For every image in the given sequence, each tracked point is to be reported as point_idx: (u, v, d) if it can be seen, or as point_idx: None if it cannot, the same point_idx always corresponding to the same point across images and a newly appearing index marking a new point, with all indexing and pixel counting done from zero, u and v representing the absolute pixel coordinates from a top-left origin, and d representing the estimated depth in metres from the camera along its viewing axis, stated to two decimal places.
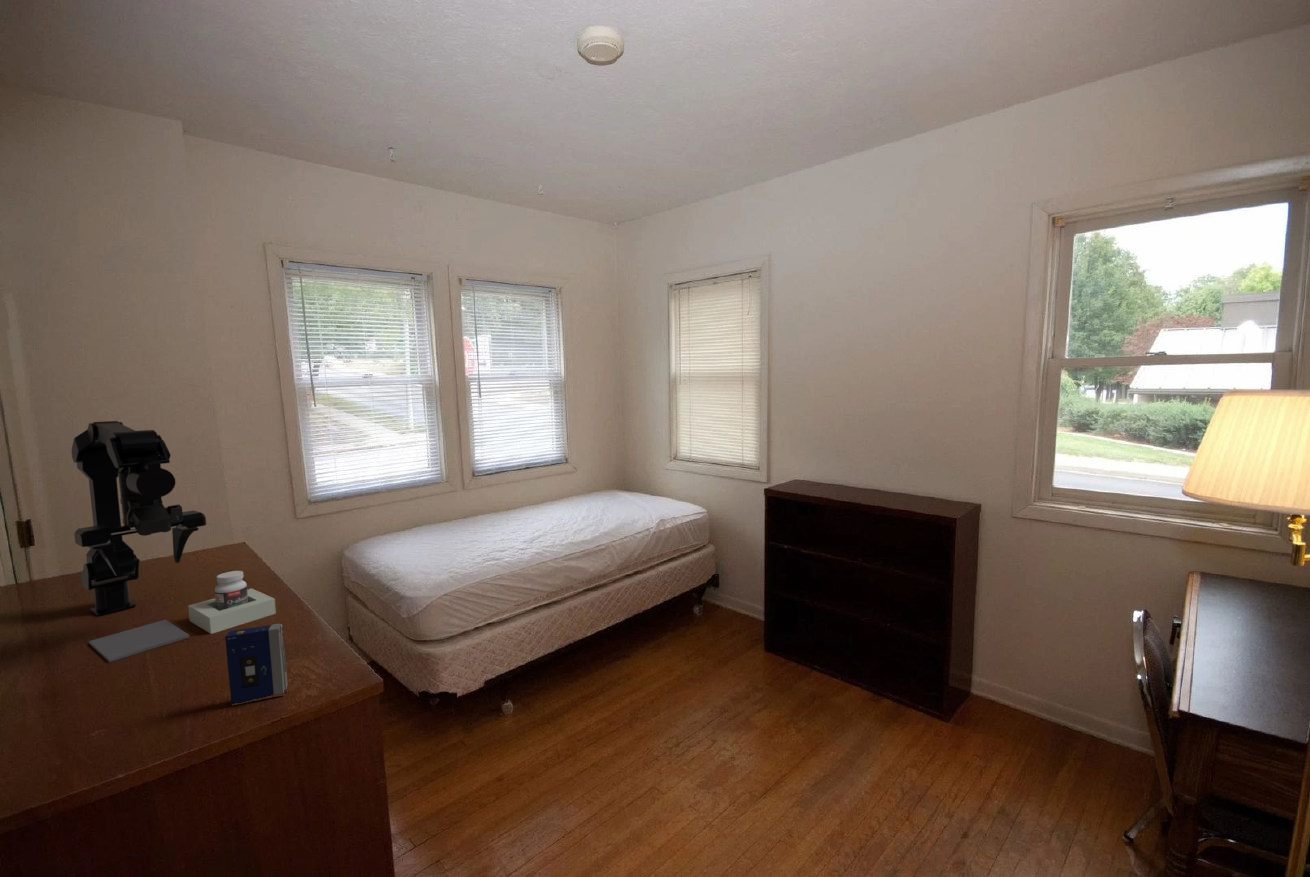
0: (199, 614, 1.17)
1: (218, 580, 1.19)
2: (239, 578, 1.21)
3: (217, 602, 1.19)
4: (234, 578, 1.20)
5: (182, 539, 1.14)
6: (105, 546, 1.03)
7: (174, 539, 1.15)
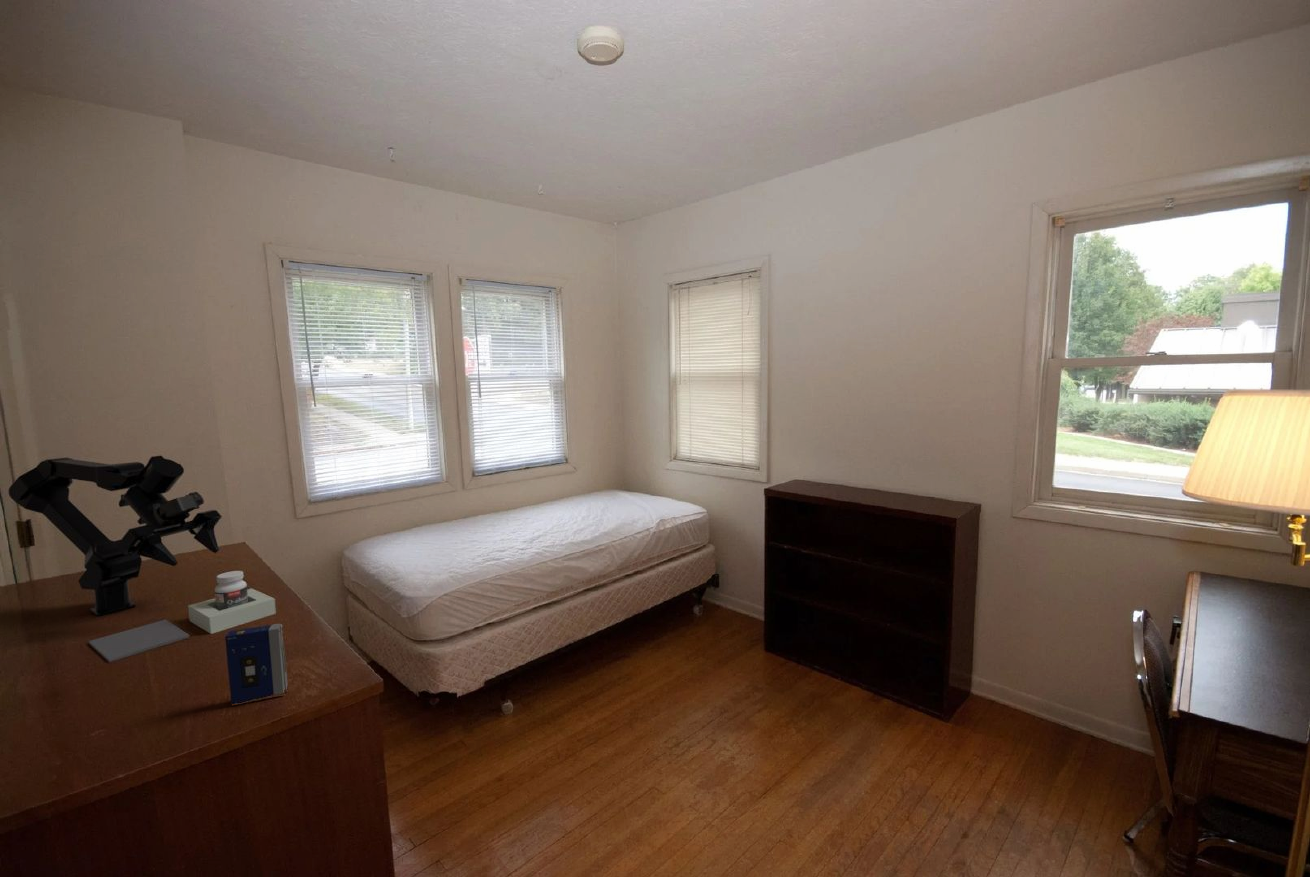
0: (199, 614, 1.17)
1: (218, 580, 1.19)
2: (239, 578, 1.21)
3: (217, 602, 1.19)
4: (234, 578, 1.20)
5: (210, 531, 1.27)
6: (153, 535, 1.16)
7: (202, 539, 1.27)
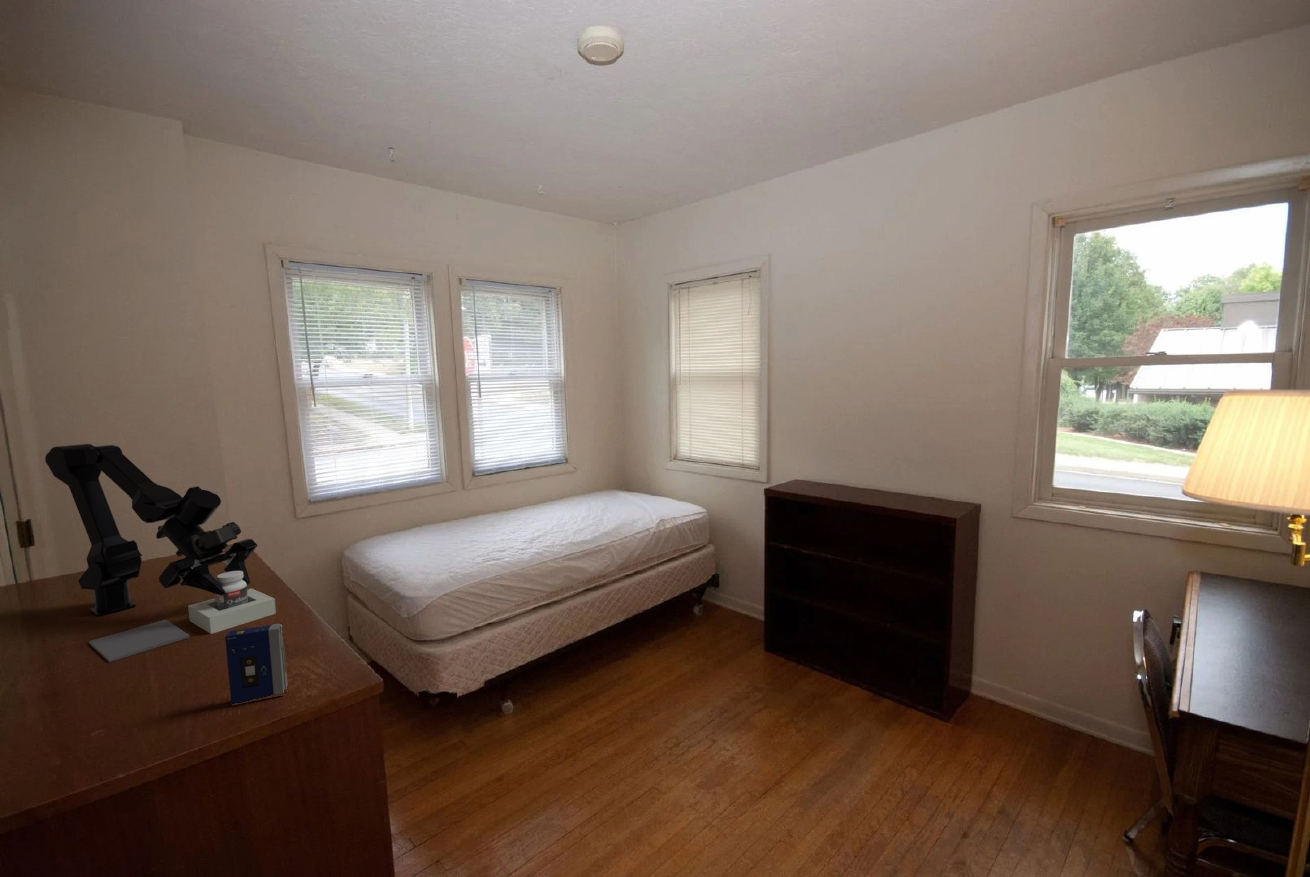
0: (199, 614, 1.17)
1: (218, 580, 1.19)
2: (239, 578, 1.21)
3: (217, 602, 1.19)
4: (234, 578, 1.20)
5: (240, 562, 1.25)
6: (201, 565, 1.16)
7: None
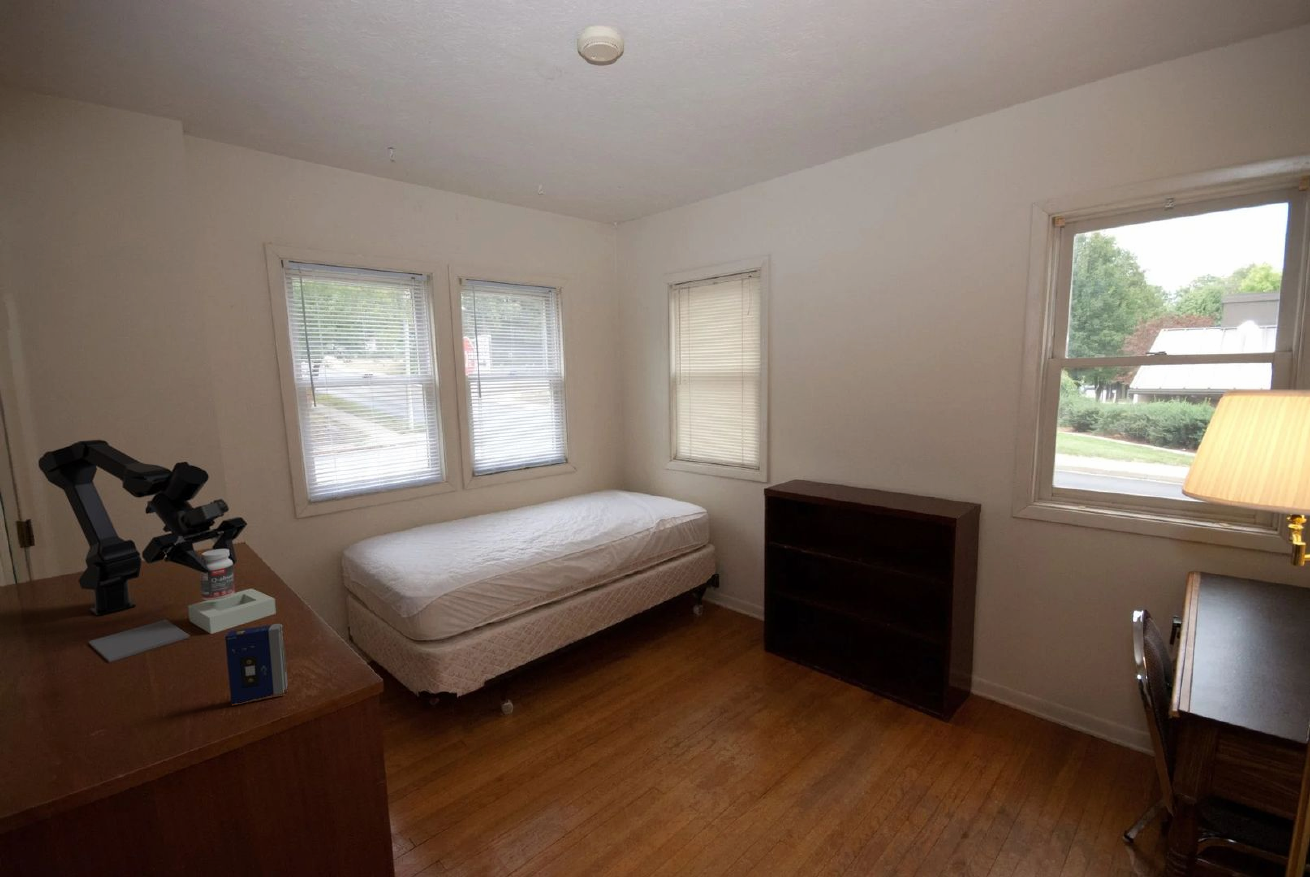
0: (199, 614, 1.17)
1: (203, 557, 1.17)
2: (224, 556, 1.19)
3: (201, 580, 1.17)
4: (219, 556, 1.18)
5: (228, 541, 1.23)
6: (185, 542, 1.14)
7: None
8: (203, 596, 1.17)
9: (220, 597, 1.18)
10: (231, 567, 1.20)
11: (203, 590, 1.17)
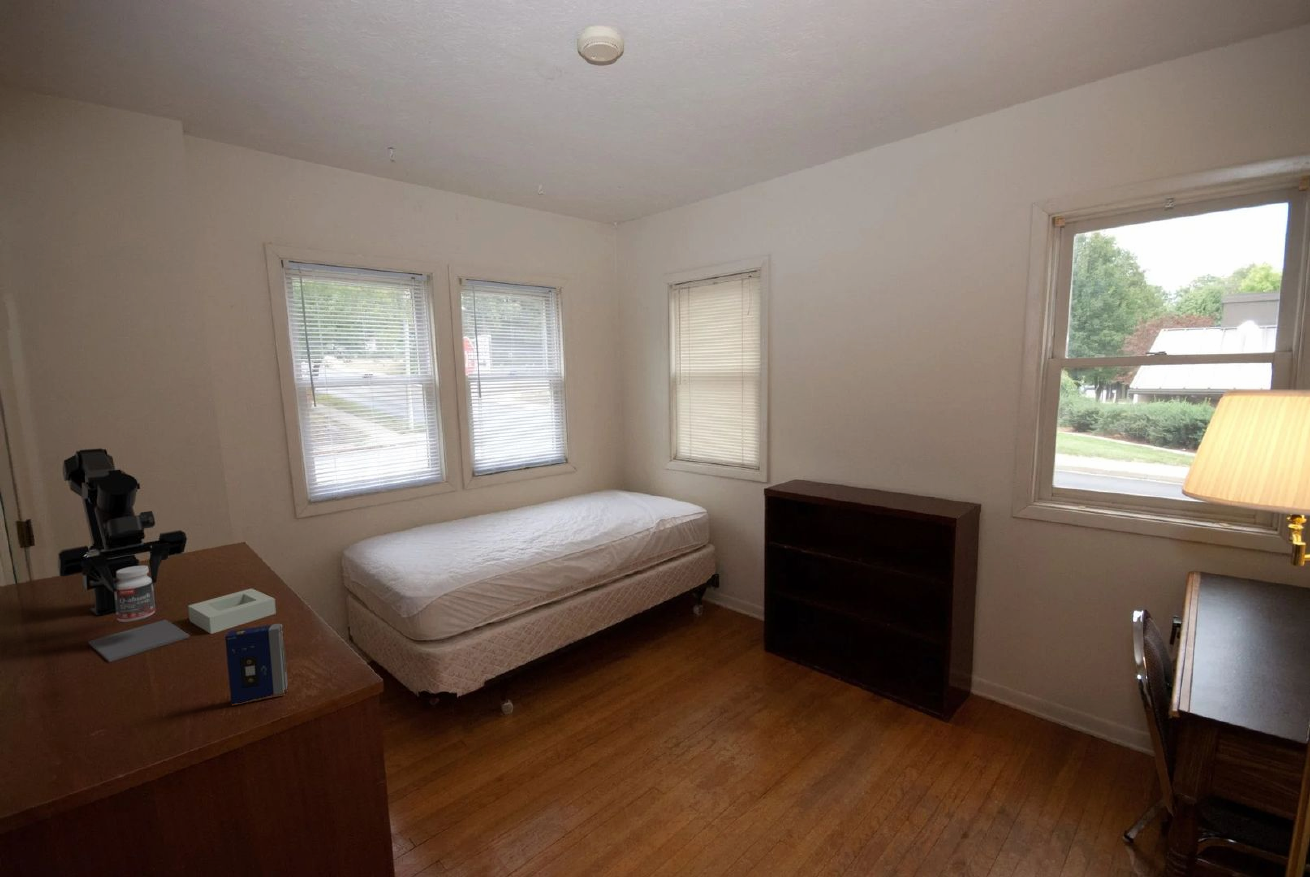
0: (199, 614, 1.17)
1: None
2: (135, 575, 1.09)
3: (115, 598, 1.09)
4: (128, 574, 1.08)
5: (155, 557, 1.14)
6: (95, 557, 1.07)
7: (150, 565, 1.14)
8: None
9: (129, 619, 1.08)
10: (145, 587, 1.10)
11: None
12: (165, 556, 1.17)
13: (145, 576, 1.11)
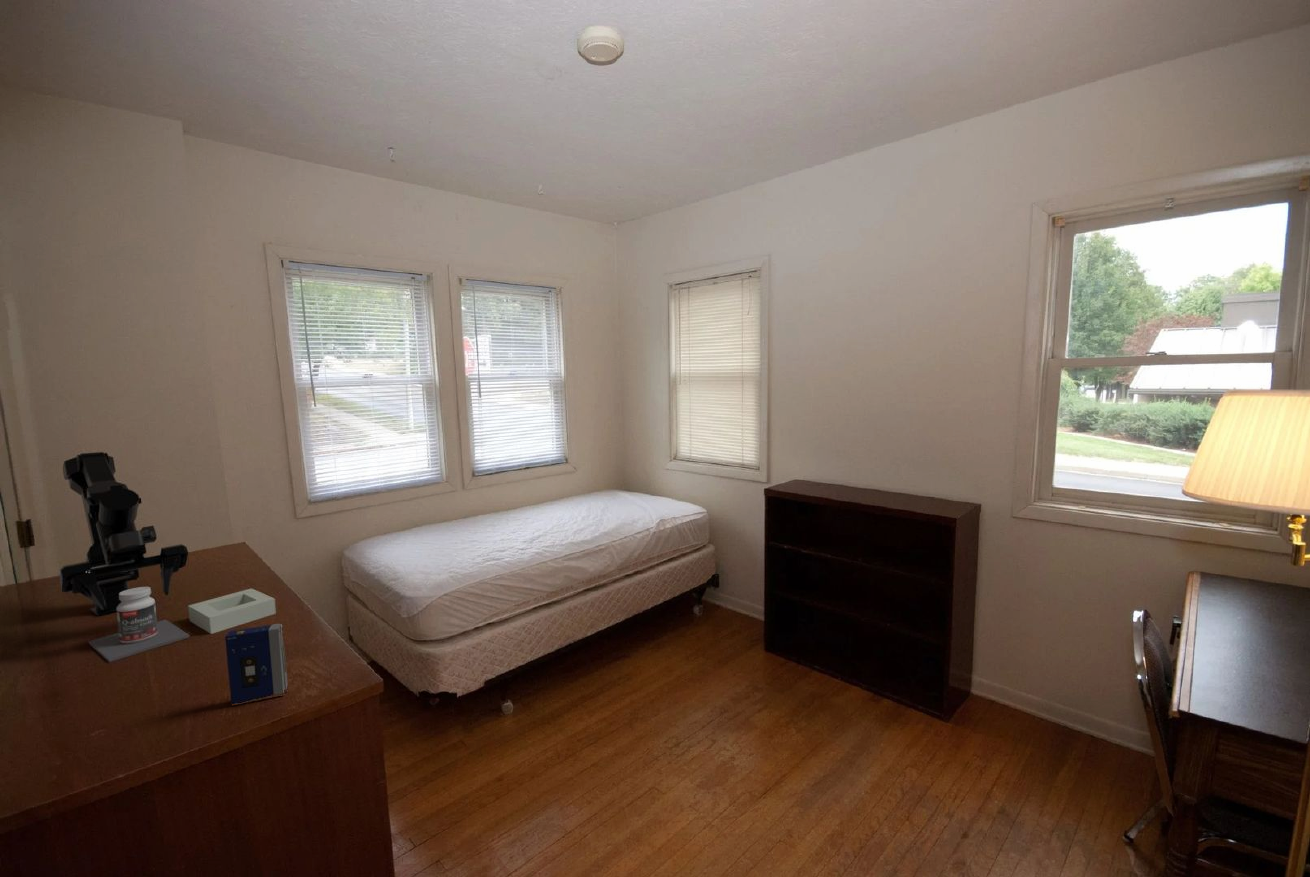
0: (199, 614, 1.17)
1: (119, 596, 1.09)
2: (138, 597, 1.09)
3: None
4: (131, 596, 1.08)
5: (167, 569, 1.15)
6: (85, 574, 1.06)
7: (162, 577, 1.16)
8: (119, 638, 1.09)
9: (132, 641, 1.09)
10: (147, 609, 1.10)
11: None
12: (176, 568, 1.19)
13: (147, 597, 1.11)
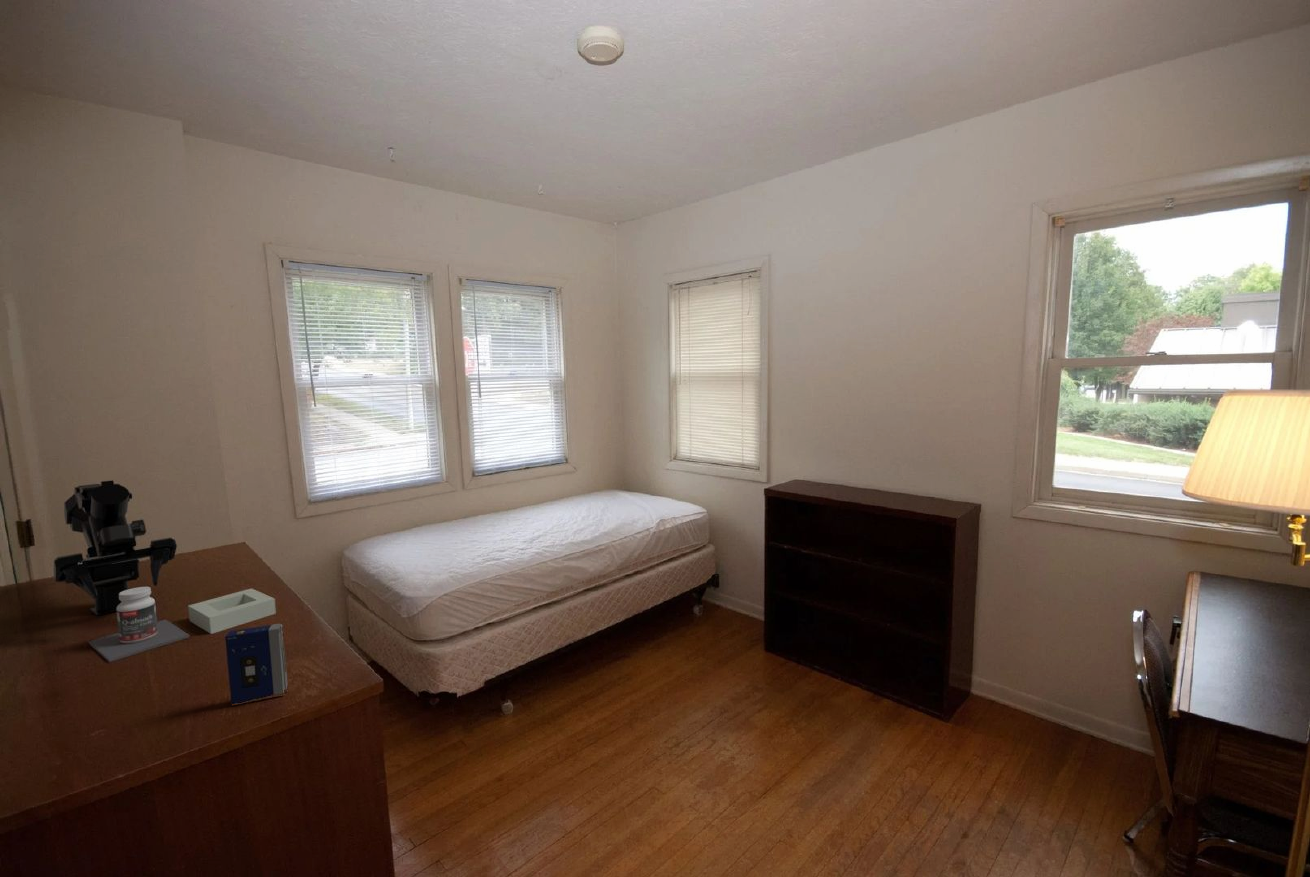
0: (199, 614, 1.17)
1: (119, 596, 1.09)
2: (138, 597, 1.09)
3: None
4: (131, 596, 1.08)
5: (156, 561, 1.21)
6: (77, 565, 1.11)
7: (151, 569, 1.21)
8: (119, 638, 1.09)
9: (132, 641, 1.09)
10: (148, 609, 1.10)
11: None
12: (165, 560, 1.24)
13: (147, 597, 1.11)
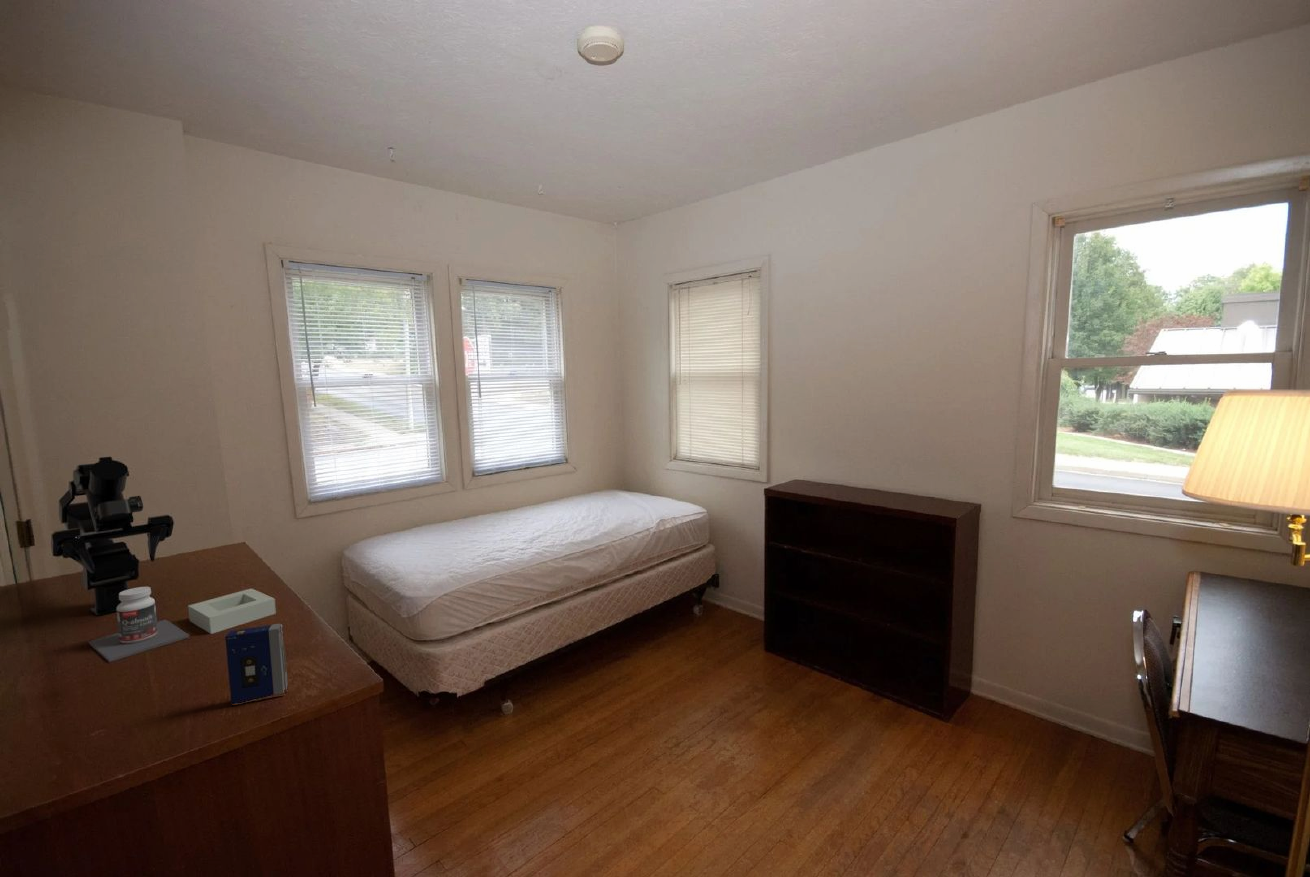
0: (199, 614, 1.17)
1: (119, 596, 1.09)
2: (138, 597, 1.09)
3: None
4: (131, 596, 1.08)
5: (153, 537, 1.21)
6: (75, 540, 1.12)
7: (148, 545, 1.22)
8: (119, 638, 1.09)
9: (132, 641, 1.09)
10: (147, 609, 1.10)
11: None
12: (162, 537, 1.25)
13: (147, 597, 1.11)
